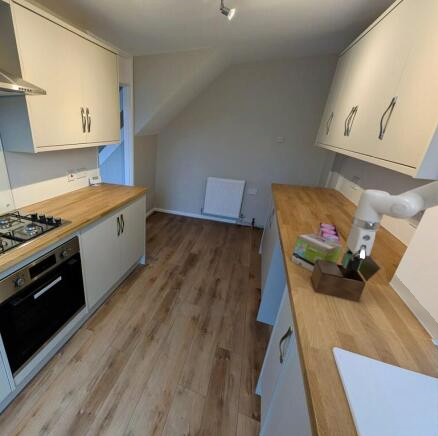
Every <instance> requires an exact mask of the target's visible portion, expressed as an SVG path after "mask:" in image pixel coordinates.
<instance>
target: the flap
mask: <svg viewBox="0 0 438 436" xmlns="http://www.w3.org/2000/svg"><path fill="white" fill-rule="evenodd" d="M379 270H381V266H380V265H379V264H378V263H377V262H376V261H375V259H374V258H373V257H372V256H371V254H370V255H369V256H366V255H365V257H364V259H363V260H362V262H361V265H360V268H359V270H358V272H359V274H360V275H361V276H362V278H363V279H364V281H365V282H368V281H369V280H370V279H371V278H373V276H375V275H376V274H377V273H378V272H379Z"/></svg>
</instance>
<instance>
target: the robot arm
mask: <svg viewBox="0 0 438 436" xmlns="http://www.w3.org/2000/svg"><path fill="white" fill-rule="evenodd" d="M437 206H438V180H435V181H431V182H430V183H427V184H424V185H421V186H418V187H415V188H413V189H410V190H408V191H404V192H402V193H400V194H397V195H392V194H390V193H389V192H387V191H386V190H385V191H384V190H379V189H365V190H363V191H362V192H361V194H360V197H359V200H358V203H357V206H356V209H355V212H354V215H353V218H352V221H351V224H350V226H351V228H350V231H349V233H348V235H347V239H346V246H347V248H346V250H345V253H348V254H352V257H351V259H350V260H349V263H348V265H347V269H350V270H355V271H357V270H358V267H359V265H360V262H361V261H362V260H363V259H364V257H365V256H369V255H370V256H371V252H372V249H373V246H374V242H375V239H376V233H377V231H378V230H379V227H380V225H381V223H382V220H383V217H384V215H385V216H388V217H391V218H394V219H397V220H398V219H399V220H405V219H406V220H407V219H410V218H412V217H414V216H415V215H416V214H418V213H419V212H421V211H424V210H427V209H430V208H431V209H432V208H434V207H437ZM355 255H358V256H356V257H355ZM358 271H359V270H358Z"/></svg>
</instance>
